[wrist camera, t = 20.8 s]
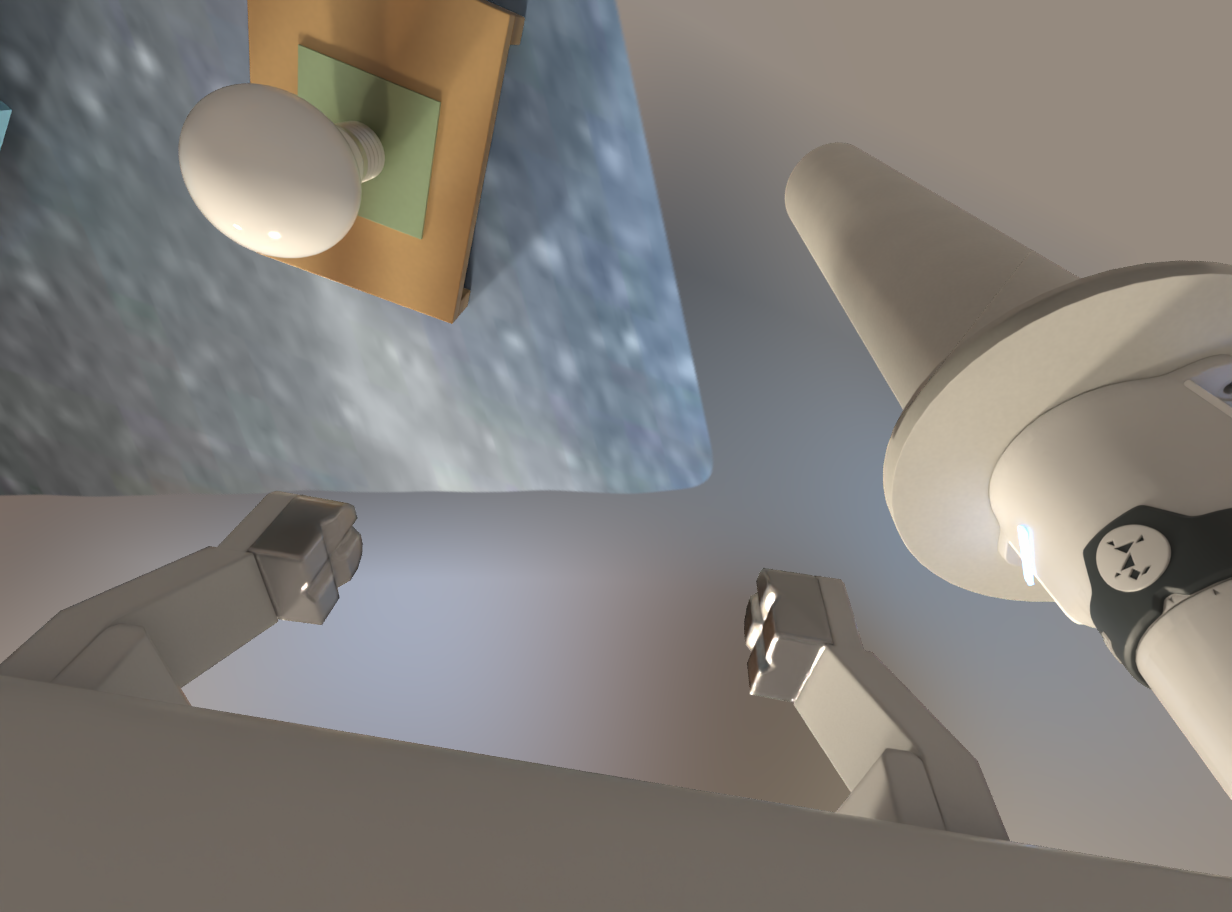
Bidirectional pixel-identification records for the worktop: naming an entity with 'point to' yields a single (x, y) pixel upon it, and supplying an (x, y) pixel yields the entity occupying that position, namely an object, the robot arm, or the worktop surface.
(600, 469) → the worktop surface
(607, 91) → the worktop surface
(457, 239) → the shelf
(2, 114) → the teakettle
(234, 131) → the lightbulb
